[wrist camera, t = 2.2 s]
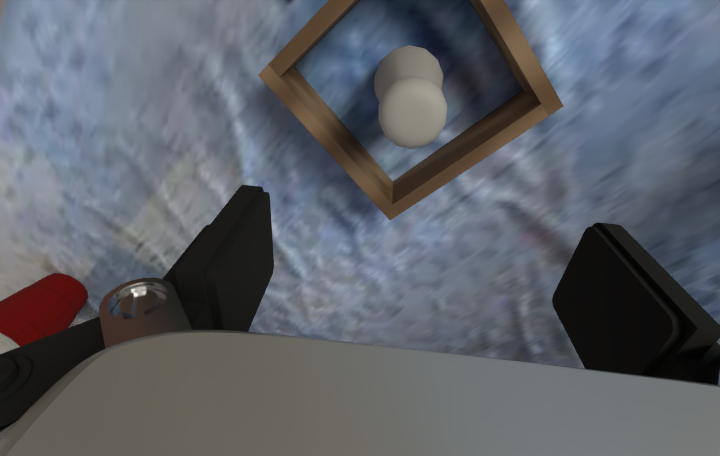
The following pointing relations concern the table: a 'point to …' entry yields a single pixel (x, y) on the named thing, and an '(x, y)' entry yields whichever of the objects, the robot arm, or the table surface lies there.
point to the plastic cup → (40, 310)
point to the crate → (454, 155)
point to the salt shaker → (410, 97)
